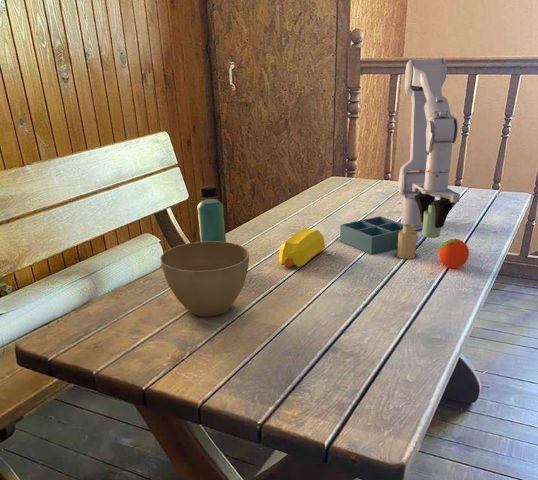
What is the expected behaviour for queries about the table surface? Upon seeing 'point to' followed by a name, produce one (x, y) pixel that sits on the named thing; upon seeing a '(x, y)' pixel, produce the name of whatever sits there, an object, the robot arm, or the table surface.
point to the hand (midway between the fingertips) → (432, 224)
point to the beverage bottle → (211, 216)
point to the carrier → (371, 234)
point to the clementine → (453, 253)
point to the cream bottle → (407, 242)
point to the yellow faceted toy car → (301, 247)
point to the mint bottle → (430, 223)
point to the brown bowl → (206, 275)
